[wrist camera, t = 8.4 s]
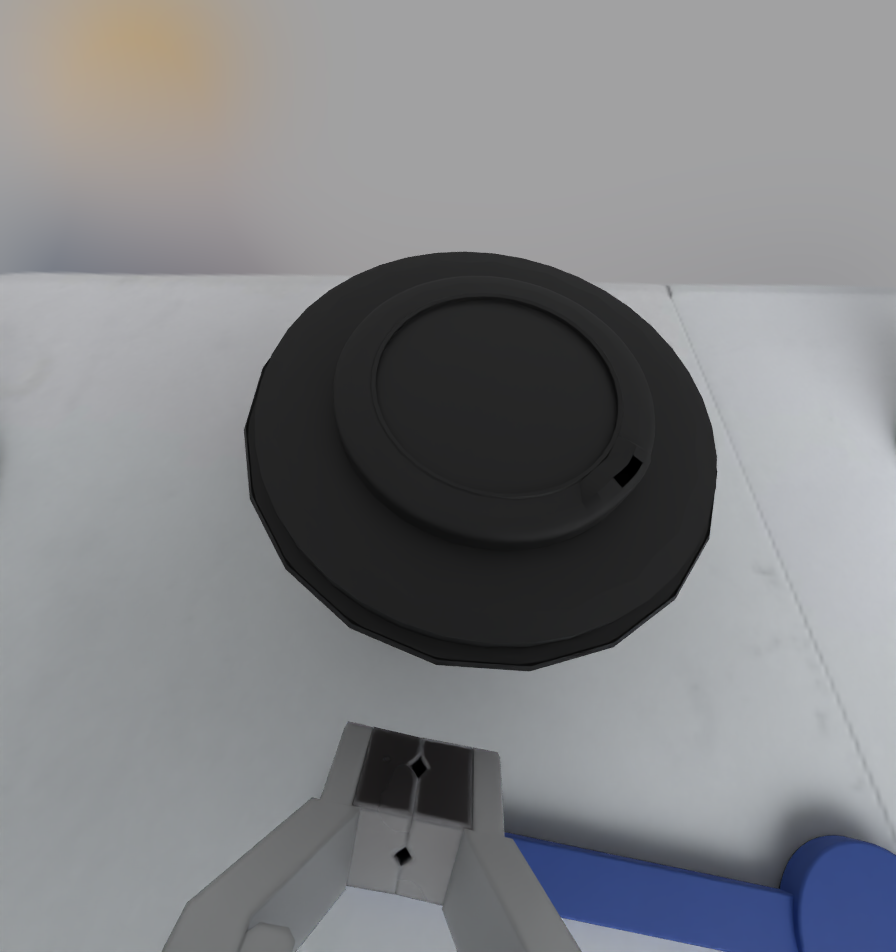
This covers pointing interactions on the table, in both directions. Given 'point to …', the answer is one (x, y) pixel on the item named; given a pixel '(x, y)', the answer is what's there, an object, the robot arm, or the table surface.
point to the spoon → (730, 898)
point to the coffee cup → (481, 461)
